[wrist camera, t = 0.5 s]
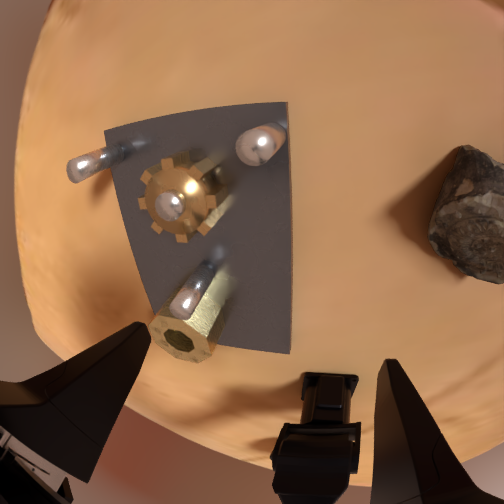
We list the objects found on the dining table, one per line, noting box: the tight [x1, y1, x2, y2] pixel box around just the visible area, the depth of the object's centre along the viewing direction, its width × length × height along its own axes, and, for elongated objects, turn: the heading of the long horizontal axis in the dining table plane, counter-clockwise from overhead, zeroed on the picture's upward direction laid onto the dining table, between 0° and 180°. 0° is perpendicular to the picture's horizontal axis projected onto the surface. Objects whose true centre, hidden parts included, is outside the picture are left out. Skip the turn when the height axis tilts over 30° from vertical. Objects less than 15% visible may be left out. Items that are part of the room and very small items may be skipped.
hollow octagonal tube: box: [148, 288, 225, 363], centre depth 25 cm, size 6×6×4 cm
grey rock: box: [427, 145, 504, 284], centre depth 13 cm, size 11×9×10 cm
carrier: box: [66, 102, 293, 354], centre depth 21 cm, size 23×15×6 cm, turn 5°
